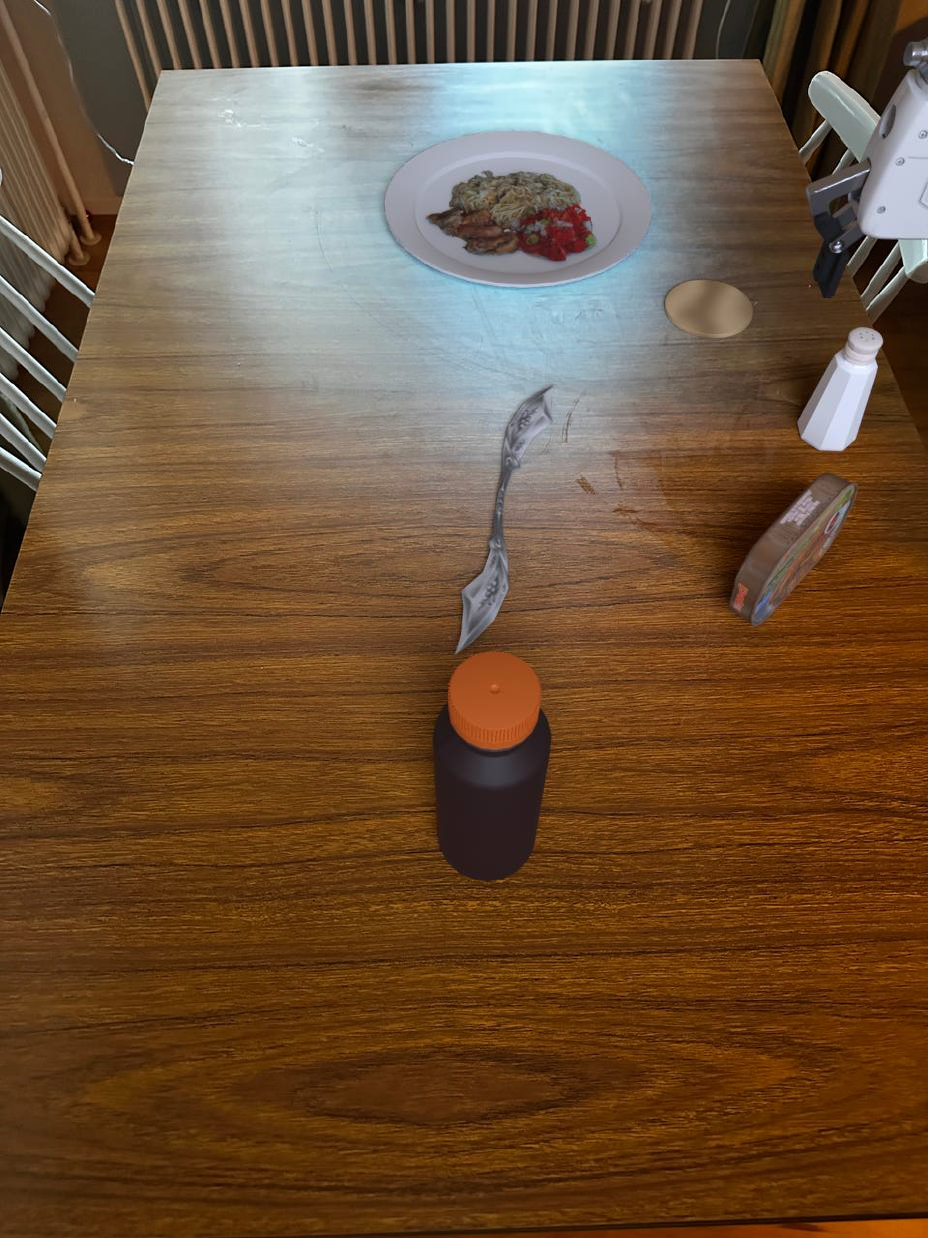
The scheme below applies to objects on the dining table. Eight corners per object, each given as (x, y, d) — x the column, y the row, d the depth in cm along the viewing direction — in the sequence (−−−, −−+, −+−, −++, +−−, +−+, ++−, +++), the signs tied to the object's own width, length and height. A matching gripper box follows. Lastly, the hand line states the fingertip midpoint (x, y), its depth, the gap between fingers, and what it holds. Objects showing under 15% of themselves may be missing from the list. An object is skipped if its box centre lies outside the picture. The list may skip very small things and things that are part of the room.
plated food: (444, 126, 119) (444, 98, 117) (678, 175, 113) (683, 147, 111) (340, 261, 103) (337, 233, 101) (606, 327, 97) (610, 299, 95)
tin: (744, 645, 75) (773, 580, 68) (710, 622, 76) (736, 557, 70) (841, 537, 82) (876, 468, 75) (808, 518, 83) (841, 448, 76)
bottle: (532, 789, 68) (554, 634, 52) (538, 882, 64) (565, 746, 48) (437, 791, 68) (429, 636, 52) (437, 884, 64) (429, 748, 48)
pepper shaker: (834, 406, 91) (875, 309, 82) (866, 444, 88) (913, 348, 79) (784, 419, 90) (821, 323, 81) (816, 459, 87) (857, 363, 78)
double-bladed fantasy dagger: (559, 387, 92) (508, 381, 92) (559, 383, 91) (509, 376, 92) (509, 665, 74) (447, 655, 74) (509, 661, 73) (447, 651, 74)
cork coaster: (743, 282, 102) (744, 278, 101) (759, 338, 96) (760, 334, 96) (659, 283, 101) (659, 279, 101) (671, 338, 96) (672, 334, 96)
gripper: (867, 90, 59) (786, 317, 74) (1138, 92, 60) (1006, 318, 74) (838, 33, 64) (766, 258, 78) (1091, 36, 64) (974, 259, 78)
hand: (883, 287), depth 76 cm, fingers open, 9 cm apart
